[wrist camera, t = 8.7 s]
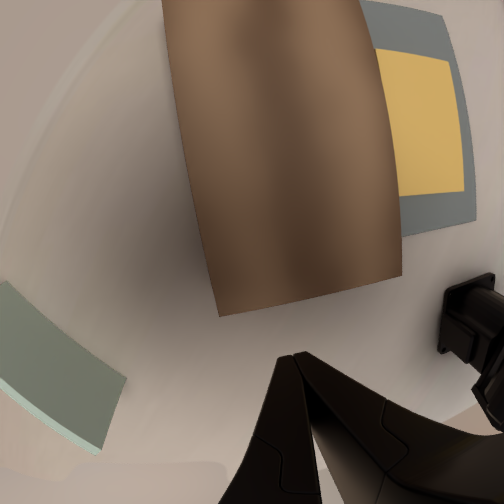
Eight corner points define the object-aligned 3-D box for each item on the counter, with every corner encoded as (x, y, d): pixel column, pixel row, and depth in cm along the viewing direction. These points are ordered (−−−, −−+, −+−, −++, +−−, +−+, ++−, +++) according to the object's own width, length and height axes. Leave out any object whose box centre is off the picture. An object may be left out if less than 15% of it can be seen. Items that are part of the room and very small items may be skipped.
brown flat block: (337, 5, 15) (353, -14, 12) (379, 261, 20) (401, 275, 17) (168, 19, 14) (161, -3, 11) (219, 294, 19) (219, 316, 17)
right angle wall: (-18, 365, 19) (-56, 408, 12) (7, 280, 18) (-53, 322, 10) (76, 439, 22) (54, 494, 15) (126, 377, 21) (101, 450, 13)
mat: (439, 17, 15) (442, 15, 15) (473, 219, 20) (476, 220, 20) (328, -1, 15) (330, -3, 14) (372, 241, 20) (375, 242, 19)
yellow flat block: (431, 67, 16) (448, 61, 14) (446, 188, 19) (464, 191, 17) (361, 57, 16) (375, 48, 14) (378, 193, 18) (394, 196, 16)
